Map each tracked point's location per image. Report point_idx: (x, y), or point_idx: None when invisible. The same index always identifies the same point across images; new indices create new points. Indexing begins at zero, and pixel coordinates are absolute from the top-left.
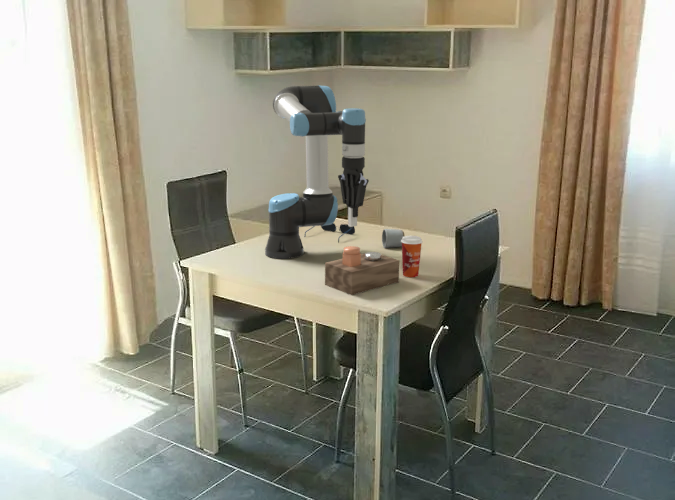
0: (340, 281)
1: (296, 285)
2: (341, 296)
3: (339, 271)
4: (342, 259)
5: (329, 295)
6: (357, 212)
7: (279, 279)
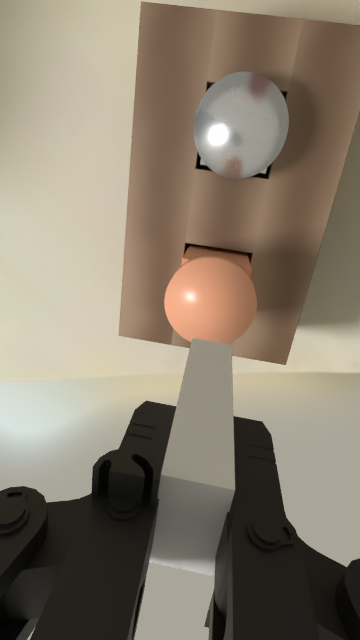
0: None
1: (86, 360)
2: None
3: None
4: (134, 252)
5: None
6: (274, 473)
7: (13, 351)
